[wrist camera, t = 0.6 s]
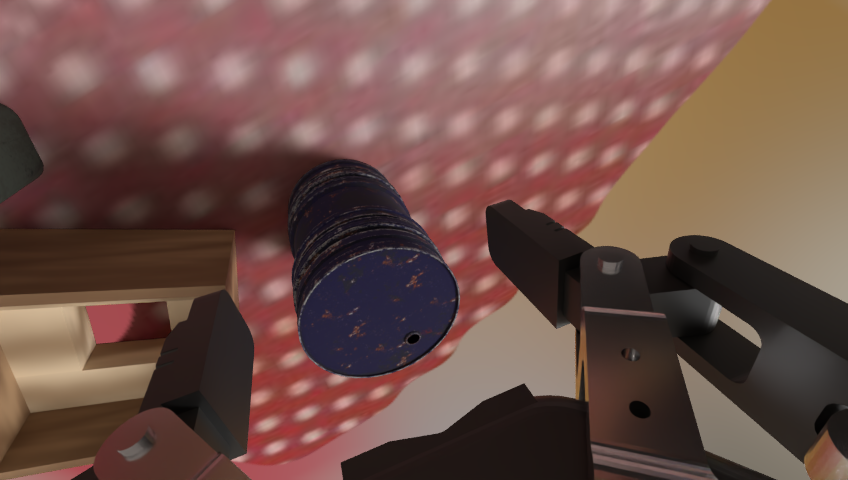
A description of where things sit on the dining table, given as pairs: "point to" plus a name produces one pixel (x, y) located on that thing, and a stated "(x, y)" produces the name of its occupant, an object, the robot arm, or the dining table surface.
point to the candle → (16, 155)
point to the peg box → (88, 331)
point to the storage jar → (364, 274)
